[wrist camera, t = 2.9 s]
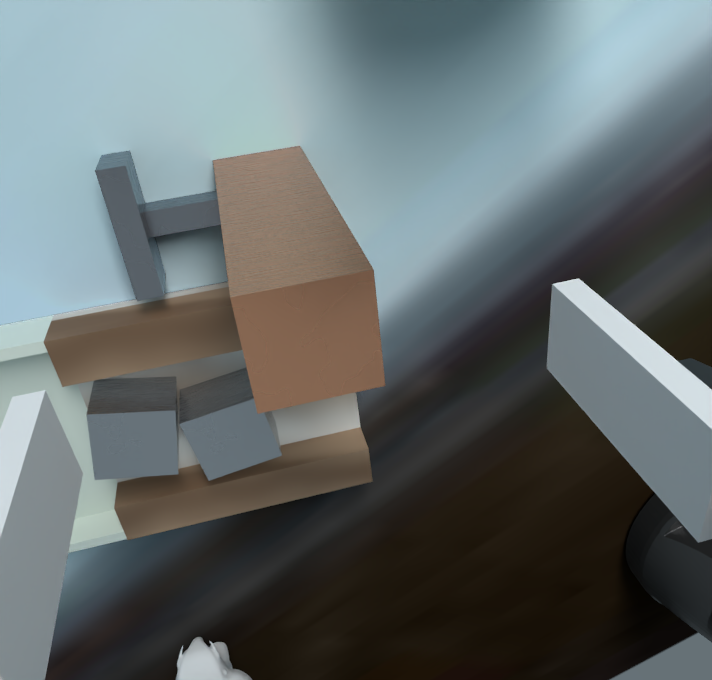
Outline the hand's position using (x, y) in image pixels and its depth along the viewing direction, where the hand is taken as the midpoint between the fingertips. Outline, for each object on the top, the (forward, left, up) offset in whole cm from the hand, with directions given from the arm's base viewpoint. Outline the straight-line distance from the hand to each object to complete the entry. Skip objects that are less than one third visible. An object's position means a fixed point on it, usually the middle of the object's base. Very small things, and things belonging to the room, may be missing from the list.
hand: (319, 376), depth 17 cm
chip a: (-11, +4, -16) cm, 20 cm away
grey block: (-10, +8, -16) cm, 20 cm away
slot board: (-11, +4, -16) cm, 20 cm away
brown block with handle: (0, +2, -16) cm, 16 cm away
